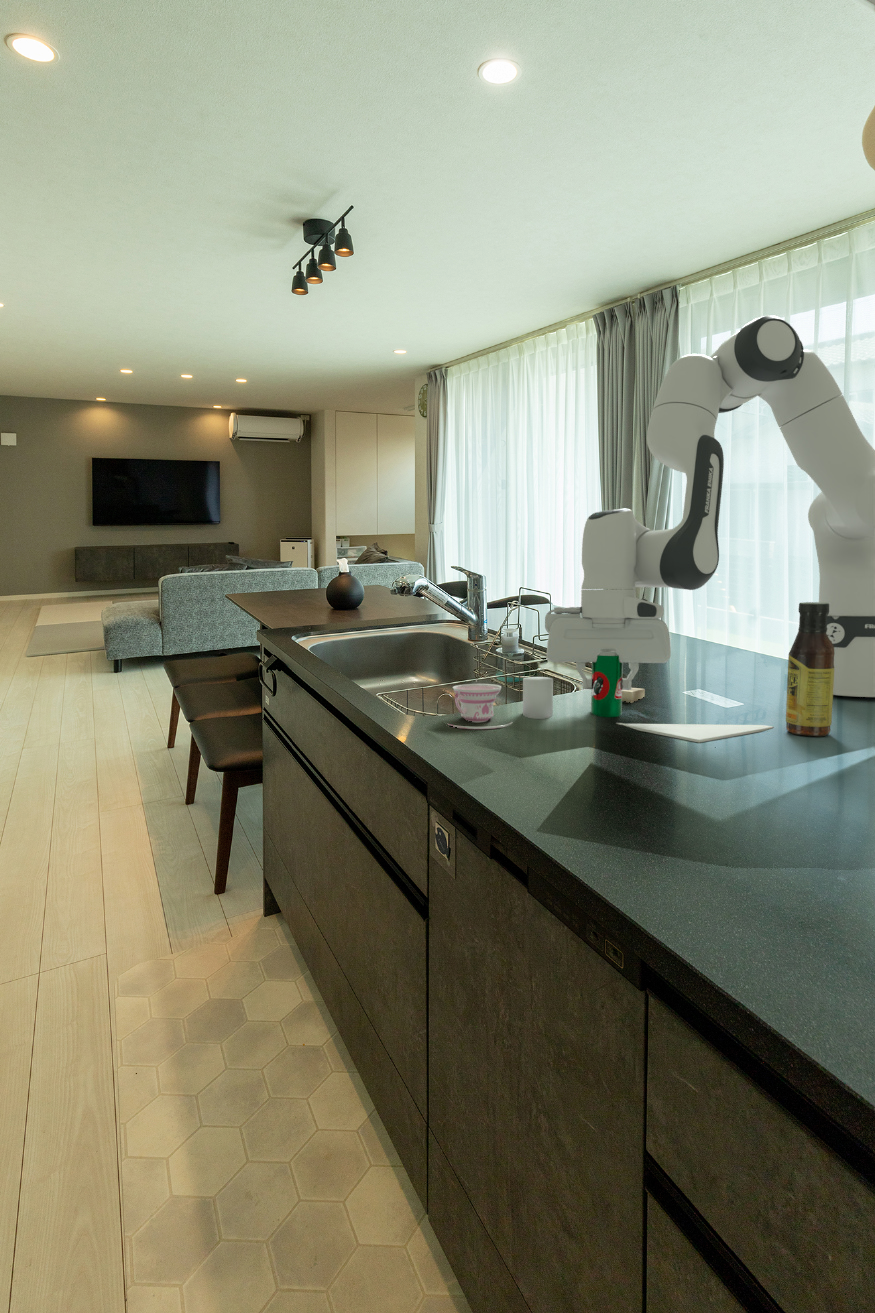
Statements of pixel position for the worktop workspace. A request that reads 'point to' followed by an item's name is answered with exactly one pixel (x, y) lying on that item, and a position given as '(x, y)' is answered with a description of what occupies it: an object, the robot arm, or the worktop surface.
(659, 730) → the mat
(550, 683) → the grey cylinder
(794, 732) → the sauce bottle
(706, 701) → the worktop surface
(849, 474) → the robot arm
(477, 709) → the teacup
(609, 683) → the soda can
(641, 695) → the birch block
